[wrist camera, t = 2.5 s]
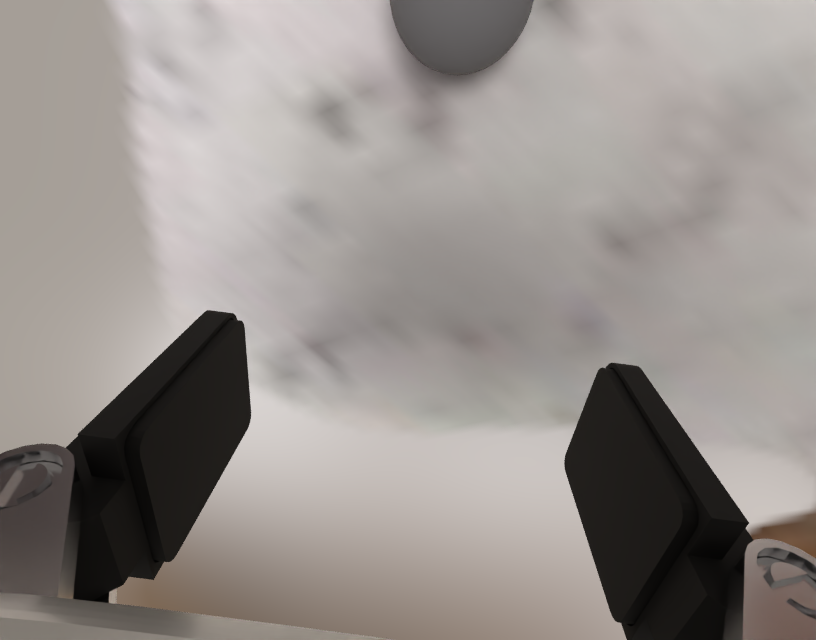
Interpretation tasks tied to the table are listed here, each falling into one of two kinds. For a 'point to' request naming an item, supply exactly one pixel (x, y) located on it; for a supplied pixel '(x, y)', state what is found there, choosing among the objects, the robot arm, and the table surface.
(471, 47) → the grey ball
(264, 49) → the table surface
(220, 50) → the table surface
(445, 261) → the table surface
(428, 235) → the table surface
